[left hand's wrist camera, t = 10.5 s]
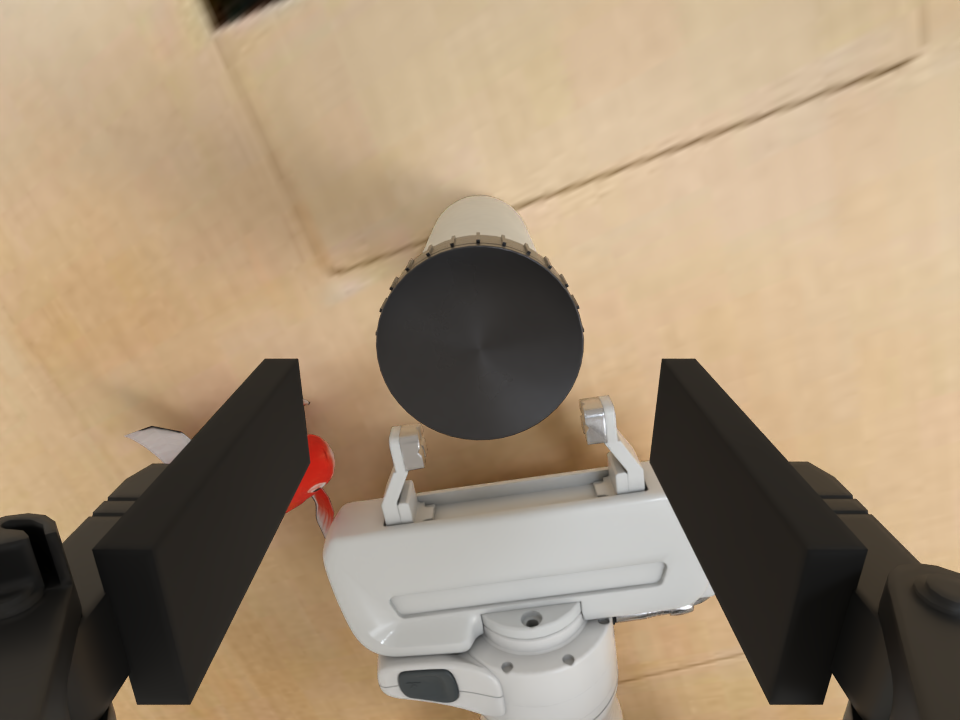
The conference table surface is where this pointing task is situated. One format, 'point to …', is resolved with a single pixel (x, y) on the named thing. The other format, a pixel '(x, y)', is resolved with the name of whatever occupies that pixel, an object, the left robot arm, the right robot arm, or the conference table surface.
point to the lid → (479, 338)
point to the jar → (480, 221)
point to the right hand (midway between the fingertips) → (499, 415)
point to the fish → (316, 476)
